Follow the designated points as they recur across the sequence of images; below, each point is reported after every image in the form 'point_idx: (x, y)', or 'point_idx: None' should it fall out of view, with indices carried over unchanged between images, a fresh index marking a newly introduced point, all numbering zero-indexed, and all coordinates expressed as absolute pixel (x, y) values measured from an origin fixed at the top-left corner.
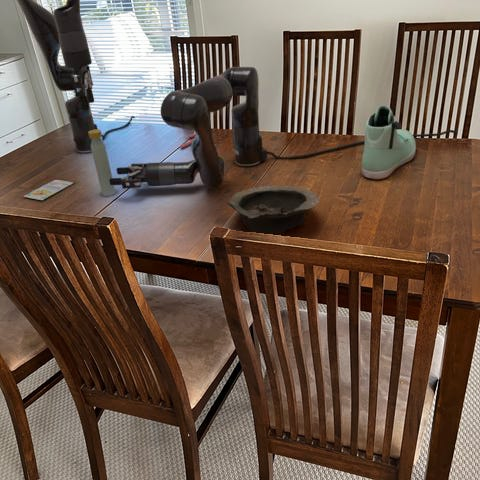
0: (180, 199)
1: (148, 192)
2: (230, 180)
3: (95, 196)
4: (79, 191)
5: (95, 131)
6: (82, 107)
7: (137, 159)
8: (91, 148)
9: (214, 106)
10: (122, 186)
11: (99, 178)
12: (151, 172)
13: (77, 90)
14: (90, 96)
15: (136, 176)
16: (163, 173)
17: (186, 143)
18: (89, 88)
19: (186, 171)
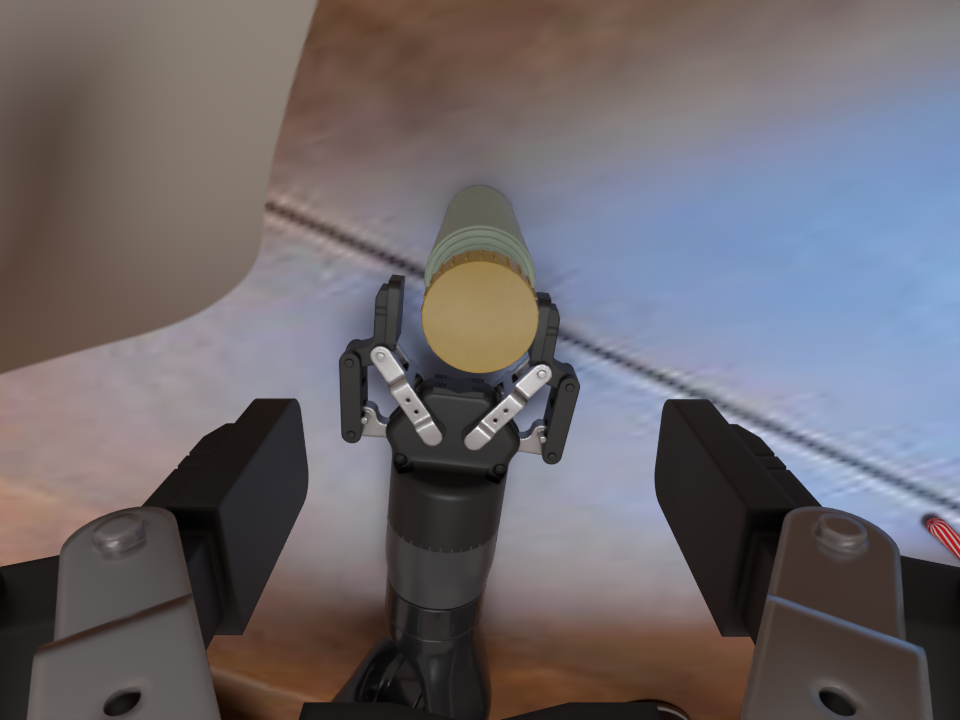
0: (358, 526)
1: None
2: (492, 677)
3: (458, 151)
4: (546, 37)
5: (472, 330)
6: (207, 438)
7: (895, 314)
8: (448, 235)
9: None
10: (350, 344)
11: (450, 209)
12: (396, 498)
13: (64, 635)
14: (688, 518)
15: (400, 420)
16: (389, 543)
17: (956, 550)
18: (755, 642)
19: (388, 630)
